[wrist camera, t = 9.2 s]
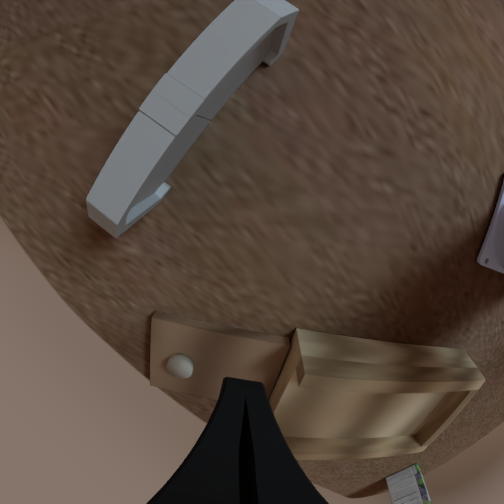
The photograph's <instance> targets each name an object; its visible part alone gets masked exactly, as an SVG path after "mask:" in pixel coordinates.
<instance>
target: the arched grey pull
mask: <svg viewBox="0 0 504 504" xmlns="http://www.w3.org/2000/svg"><path fill="white" fill-rule="evenodd" d="M298 11H299V10H298V9H297V8H296V7H294V6H293V5H291V4H290V3H288V2H287V1H285V0H234V1H233V2H232V3H231V4H230V5H229V6H228V7H227V8H226V9H225V10H224V11H223V12H222V13H221V14H220V15H219V16H218V17H217V18H216V19H215V20H214V21H213V22H212V23H211V24H210V25H209V26H208V27H207V28H206V29H205V30H204V31H203V32H202V33H201V34H200V35H199V37H198V38H197V39H196V40H195V41H194V42H193V43H192V44H191V45H190V46H189V48H188V49H187V50H186V51H185V52H184V53H183V54H182V56H181V57H180V58H179V59H178V60H177V62H176V63H175V64H174V65H173V66H172V68H171V69H170V70H169V71H168V73H165V74H164V75H163V77H162V78H161V79H160V81H159V82H158V83H157V84H156V86H155V87H154V88H153V90H152V91H151V92H150V94H149V95H148V96H147V98H146V99H145V101H144V102H143V103H142V105H141V106H140V108H139V111H138V113H137V114H136V116H135V117H134V119H133V120H132V122H131V123H130V125H129V126H128V128H127V129H126V131H125V132H124V134H123V135H122V137H121V138H120V140H119V142H118V143H117V145H116V146H115V148H114V150H113V151H112V153H111V155H110V156H109V158H108V160H107V161H106V163H105V165H104V167H103V168H102V170H101V172H100V174H99V175H98V177H97V179H96V181H95V183H94V184H93V186H92V188H91V190H90V192H89V194H88V196H87V198H86V204H87V211H88V216H89V217H90V218H91V219H92V220H93V221H94V222H96V223H97V224H98V225H99V226H101V227H102V228H103V229H104V230H106V231H107V232H108V233H109V234H111V235H112V236H113V237H115V238H118V237H119V236H120V235H121V234H122V233H124V232H125V231H126V230H127V229H128V228H130V227H131V226H132V225H133V224H134V223H136V222H137V221H138V220H139V219H141V218H142V217H143V216H144V215H146V214H147V213H148V212H149V211H151V210H152V209H153V208H155V207H156V206H157V205H158V204H160V202H161V201H162V200H163V198H164V197H165V195H166V194H167V192H168V191H169V190H170V188H171V187H170V186H169V185H168V184H166V183H165V181H166V180H167V178H168V177H169V175H170V174H171V172H172V171H173V170H174V168H175V167H176V166H177V164H178V163H179V161H180V160H181V159H182V157H183V156H184V155H185V153H186V152H187V151H188V149H189V148H190V147H191V145H192V144H193V143H194V141H195V140H196V139H197V138H198V136H199V135H200V134H201V132H202V131H203V130H204V129H205V127H206V126H207V125H208V124H209V122H210V120H212V119H213V117H214V116H215V115H216V114H217V113H218V111H219V110H220V109H221V108H222V107H223V105H224V104H225V103H226V102H227V101H228V99H229V98H230V97H231V96H232V95H233V94H234V92H235V91H236V90H237V89H238V88H239V87H240V86H241V84H242V83H243V82H244V81H245V80H246V79H247V78H248V77H249V76H250V74H251V73H252V72H253V71H254V70H255V69H256V68H257V67H258V66H259V65H260V64H261V63H262V61H263V62H264V63H266V64H267V65H269V66H271V64H272V63H273V62H274V61H275V60H276V59H277V58H278V57H279V56H280V55H281V54H282V53H283V52H284V49H285V47H286V44H287V41H288V38H289V36H290V33H291V30H292V27H293V25H294V22H295V19H296V17H297V14H298Z"/></svg>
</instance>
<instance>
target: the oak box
mask: <svg viewBox="0 0 504 504" xmlns="http://www.w3.org/2000/svg"><path fill="white" fill-rule="evenodd" d="M485 380H486V379H485V378H484V376H483V375H482V374H481V372H480V371H479V369H478V368H477V367H476V365H475V364H474V363H473V361H472V360H471V359H470V357H469V356H468V355H467V353H466V352H465V351H464V349H459V348H446V347H434V346H423V345H413V344H404V343H395V342H386V341H378V340H370V339H363V338H356V337H349V336H342V335H335V334H329V333H322V332H316V331H310V330H304V329H298V328H296V330H295V333H294V335H293V338H292V340H291V343H290V347H289V350H288V352H287V355H286V357H285V360H284V362H283V365H282V367H281V370H280V372H279V375H278V377H277V379H276V382H275V384H274V387H273V389H272V391H271V394H270V396H269V399H268V400H269V403H270V406H271V408H272V411H273V413H274V416H275V418H276V421H277V423H278V425H279V428H280V430H281V432H282V434H283V436H284V438H285V440H286V442H287V444H288V446H289V448H290V450H291V452H292V454H293V455H294V457H295V459H296V460H348V459H365V458H377V457H387V456H396V455H403V454H410V453H416V452H422V451H423V450H424V449H425V448H426V447H427V446H428V445H429V444H430V443H432V442H433V441H434V440H435V439H436V438H437V437H438V435H439V434H440V433H441V432H442V431H443V430H444V429H445V428H446V427H447V426H448V425H449V424H450V423H451V422H452V421H453V420H454V418H455V417H456V416H457V415H458V414H459V413H460V412H461V410H462V409H463V408H464V407H465V406H466V405H467V403H468V402H469V401H470V400H471V398H472V397H473V396H474V395H475V393H476V392H477V391H478V390H479V388H480V387H481V386H482V384H483V383H484V382H485Z"/></svg>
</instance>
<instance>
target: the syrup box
mask: <svg viewBox="0 0 504 504" xmlns="http://www.w3.org/2000/svg"><path fill="white" fill-rule="evenodd" d="M385 479H386V482H387V486H388V490H389V494H390V498H391V502H392V504H431V501H430V498H429V494H428V492H427V488H426V485H425V482H424V479H423V476H422V473H421V471H420V468H419V466H418V464H414V465H412V466H410V467H408V468H406V469H404V470H401V471H399V472H397V473H395V474H393V475H391V476H389V477H386V478H385Z"/></svg>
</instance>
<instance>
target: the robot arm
mask: <svg viewBox="0 0 504 504" xmlns="http://www.w3.org/2000/svg"><path fill="white" fill-rule="evenodd" d="M477 262H478V263H479V264H480V265H482V266H485V267H487V268H490V269H493V270H495V271H498V272H501V273H503V274H504V180H503V184H502V188H501V191H500V195H499V198H498V202H497V205H496V208H495V211H494V214H493V217H492V220H491V223H490V226H489V229H488V232H487V234H486V237H485V240H484V242H483V245H482V247H481V250H480V252H479V255H478V258H477ZM147 504H328V502H327V501H326V500H325V499H324V498H323V497H322V496H321V495H320V493H319V492H318V491H317V490H316V489H315V487H314V486H313V484H312V483H311V482H310V480H309V479H308V477H307V476H306V475H305V473H304V472H303V470H302V469H301V467H300V465H299V464H298V462H297V461H296V459H295V457H294V455H293V454H292V452H291V450H290V448H289V446H288V444H287V442H286V440H285V438H284V436H283V434H282V432H281V430H280V428H279V425H278V423H277V421H276V418H275V416H274V413H273V411H272V408H271V406H270V403H269V400H268V397H267V394H266V390H265V387H264V384H263V383H262V382H257V381H250V380H244V379H238V378H233V377H225V378H223V382H222V386H221V390H220V393H219V397H218V401H217V404H216V406H215V409H214V411H213V413H212V415H211V417H210V419H209V421H208V423H207V425H206V427H205V429H204V430H203V432H202V434H201V435H200V437H199V439H198V441H197V442H196V444H195V445H194V447H193V448H192V450H191V451H190V453H189V454H188V456H187V457H186V459H185V460H184V461H183V463H182V464H181V465H180V467H179V468H178V469H177V470H176V472H175V473H174V474H173V475H172V477H171V478H170V479H169V480H168V481H167V483H166V484H165V485H164V486H163V487H162V488H161V489H160V490H159V491H158V492H157V493H156V494H155V495H154V496H153V497H152V499H151V500H150V501H149V502H148V503H147Z"/></svg>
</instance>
